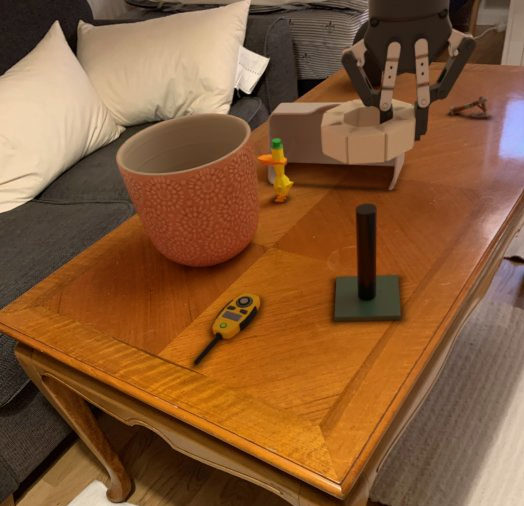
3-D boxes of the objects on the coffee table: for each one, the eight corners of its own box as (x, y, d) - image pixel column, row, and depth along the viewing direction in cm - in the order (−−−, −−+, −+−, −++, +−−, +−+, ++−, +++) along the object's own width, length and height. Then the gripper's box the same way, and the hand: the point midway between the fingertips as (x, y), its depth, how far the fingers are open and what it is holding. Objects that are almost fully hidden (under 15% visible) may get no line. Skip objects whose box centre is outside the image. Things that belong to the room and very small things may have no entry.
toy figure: (260, 204, 99) (250, 143, 91) (268, 194, 101) (259, 134, 93) (292, 208, 96) (285, 145, 88) (300, 198, 99) (293, 136, 90)
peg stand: (397, 281, 77) (401, 187, 67) (400, 322, 71) (405, 226, 61) (336, 283, 79) (331, 192, 68) (334, 323, 73) (328, 230, 62)
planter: (193, 208, 102) (166, 110, 88) (288, 222, 93) (274, 115, 80) (129, 271, 90) (87, 167, 76) (231, 293, 81) (204, 181, 68)
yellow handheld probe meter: (265, 295, 77) (206, 363, 68) (267, 305, 78) (209, 372, 70) (239, 287, 79) (178, 352, 71) (241, 297, 80) (182, 362, 72)
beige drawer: (410, 151, 105) (414, 86, 96) (394, 192, 95) (396, 124, 86) (294, 148, 114) (287, 89, 105) (268, 185, 104) (258, 123, 95)
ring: (393, 115, 64) (394, 89, 62) (433, 149, 56) (435, 122, 54) (309, 135, 63) (307, 110, 61) (338, 173, 56) (336, 146, 54)
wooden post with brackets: (490, 117, 108) (484, 96, 106) (455, 128, 114) (449, 107, 112) (494, 114, 109) (488, 92, 107) (459, 124, 115) (453, 104, 113)
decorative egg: (405, 74, 134) (408, 7, 124) (396, 93, 127) (398, 23, 116) (358, 76, 139) (357, 11, 128) (346, 94, 131) (344, 27, 120)
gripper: (485, -68, 48) (462, 120, 60) (335, -45, 51) (341, 130, 63) (500, -53, 43) (471, 149, 55) (331, -28, 46) (339, 159, 58)
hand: (402, 138), depth 59 cm, fingers closed on ring, 2 cm apart
